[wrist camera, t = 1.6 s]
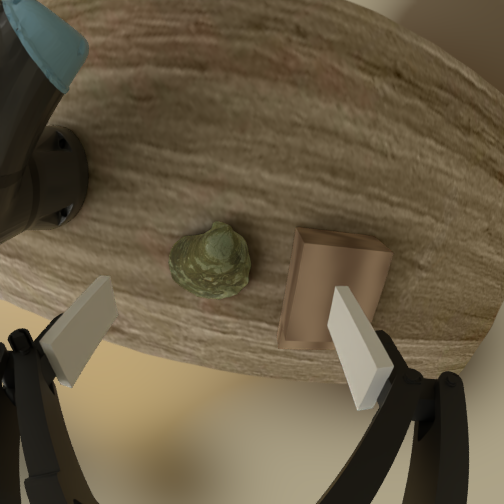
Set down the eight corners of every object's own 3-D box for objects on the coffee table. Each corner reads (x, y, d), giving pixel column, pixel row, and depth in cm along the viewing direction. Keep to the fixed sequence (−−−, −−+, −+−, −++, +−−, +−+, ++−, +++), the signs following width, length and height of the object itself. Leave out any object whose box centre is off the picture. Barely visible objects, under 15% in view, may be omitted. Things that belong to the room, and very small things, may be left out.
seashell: (163, 291, 36) (165, 274, 27) (172, 241, 39) (178, 210, 30) (235, 303, 39) (260, 289, 30) (240, 254, 41) (264, 228, 33)
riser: (276, 335, 41) (280, 362, 35) (295, 226, 34) (304, 243, 29) (344, 337, 41) (355, 362, 35) (374, 236, 35) (393, 252, 29)
